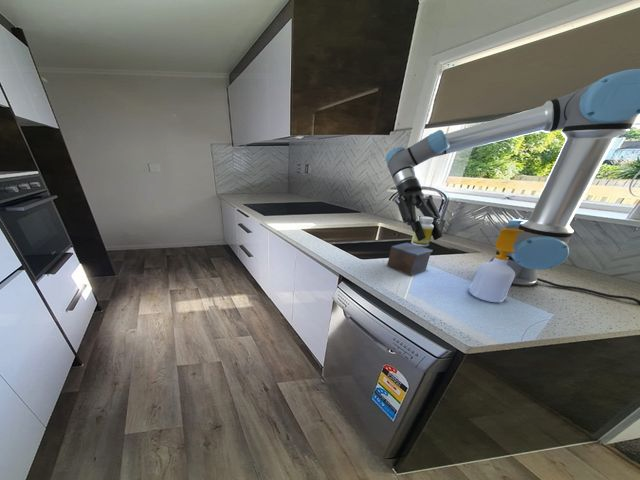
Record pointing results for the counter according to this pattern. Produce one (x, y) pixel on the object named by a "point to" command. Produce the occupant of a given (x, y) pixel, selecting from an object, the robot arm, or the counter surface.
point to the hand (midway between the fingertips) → (430, 238)
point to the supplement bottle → (427, 230)
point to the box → (407, 262)
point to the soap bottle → (496, 270)
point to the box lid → (412, 249)
